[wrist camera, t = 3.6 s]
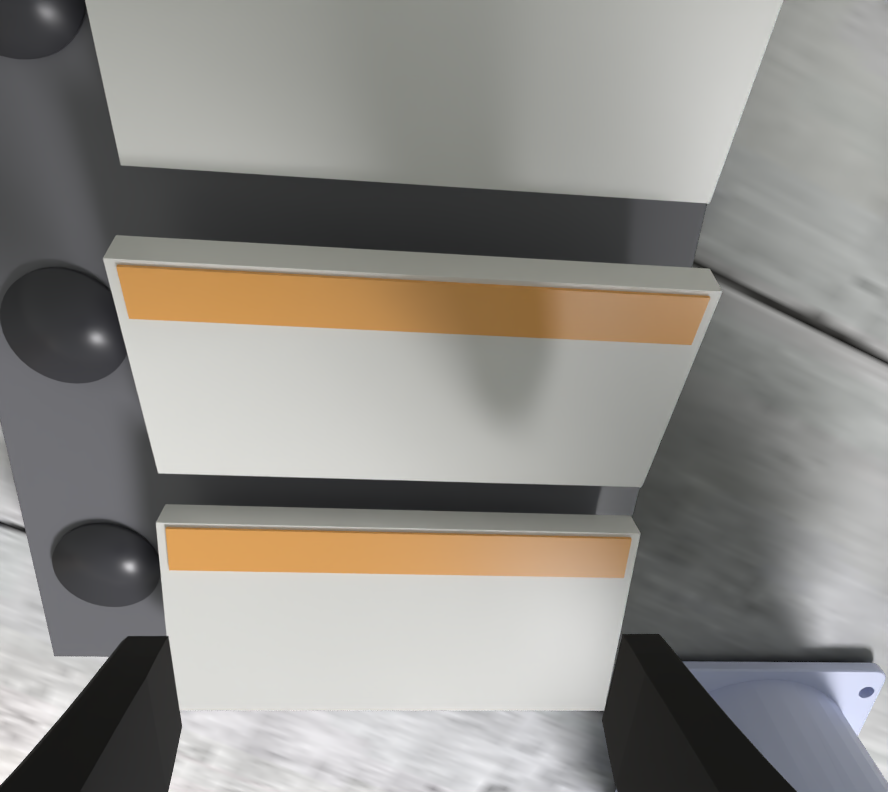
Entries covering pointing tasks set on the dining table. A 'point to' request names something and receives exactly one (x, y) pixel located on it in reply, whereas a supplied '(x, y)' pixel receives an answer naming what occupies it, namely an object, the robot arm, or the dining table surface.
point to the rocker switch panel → (217, 219)
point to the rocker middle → (404, 361)
